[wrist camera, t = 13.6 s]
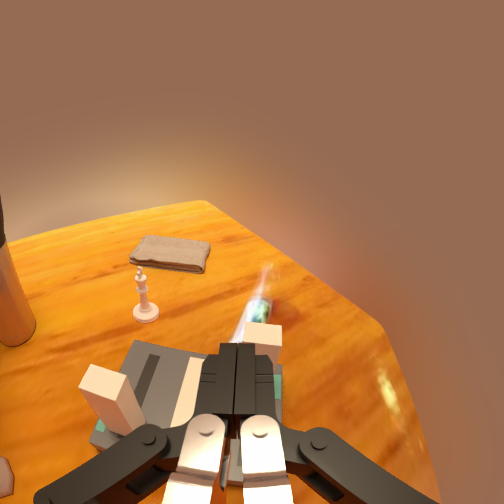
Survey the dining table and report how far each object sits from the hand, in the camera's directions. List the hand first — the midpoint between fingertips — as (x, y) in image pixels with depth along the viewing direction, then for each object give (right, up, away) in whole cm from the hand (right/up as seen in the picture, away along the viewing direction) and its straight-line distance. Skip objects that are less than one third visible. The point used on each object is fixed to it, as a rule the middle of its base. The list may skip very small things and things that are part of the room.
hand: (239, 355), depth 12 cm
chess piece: (-18, -7, +35) cm, 40 cm away
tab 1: (-14, -16, +14) cm, 25 cm away
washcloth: (-19, +3, +53) cm, 56 cm away
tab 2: (+1, -13, +22) cm, 25 cm away
